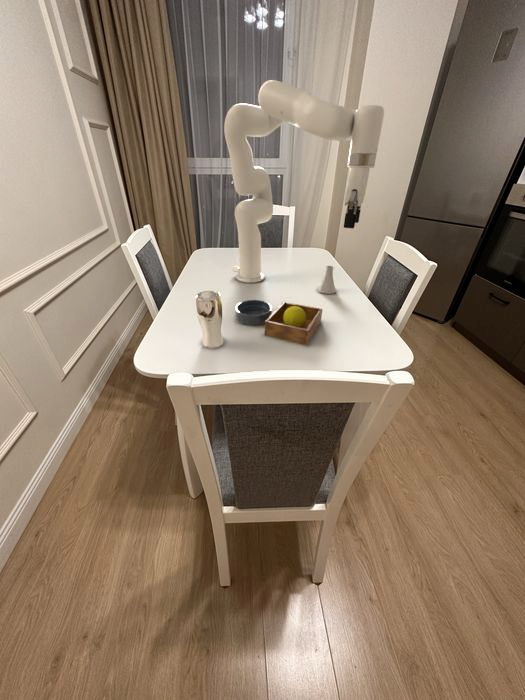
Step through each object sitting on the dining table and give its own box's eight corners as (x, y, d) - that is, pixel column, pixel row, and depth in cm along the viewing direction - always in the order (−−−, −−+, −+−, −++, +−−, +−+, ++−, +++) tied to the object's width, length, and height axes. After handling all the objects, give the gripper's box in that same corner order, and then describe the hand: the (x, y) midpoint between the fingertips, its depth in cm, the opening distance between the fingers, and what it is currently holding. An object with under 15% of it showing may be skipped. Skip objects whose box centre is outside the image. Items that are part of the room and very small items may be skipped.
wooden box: (264, 335, 88) (264, 321, 85) (282, 314, 100) (283, 301, 97) (306, 345, 83) (308, 331, 81) (320, 322, 95) (322, 308, 92)
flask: (335, 295, 114) (339, 270, 108) (317, 293, 115) (320, 269, 109) (335, 288, 120) (339, 264, 114) (318, 286, 121) (320, 263, 115)
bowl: (229, 322, 95) (228, 311, 93) (246, 307, 104) (245, 297, 102) (262, 330, 91) (262, 318, 89) (277, 314, 100) (277, 303, 98)
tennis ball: (279, 324, 93) (280, 304, 89) (297, 320, 95) (299, 301, 91) (289, 334, 88) (290, 314, 84) (309, 330, 90) (311, 310, 86)
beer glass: (202, 336, 87) (196, 290, 79) (225, 335, 88) (221, 289, 79) (200, 349, 81) (193, 301, 73) (224, 348, 82) (220, 300, 73)
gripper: (352, 161, 90) (344, 219, 100) (343, 162, 77) (334, 229, 87) (377, 161, 88) (366, 221, 98) (372, 162, 75) (359, 231, 84)
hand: (351, 225), depth 92 cm, fingers open, 9 cm apart
